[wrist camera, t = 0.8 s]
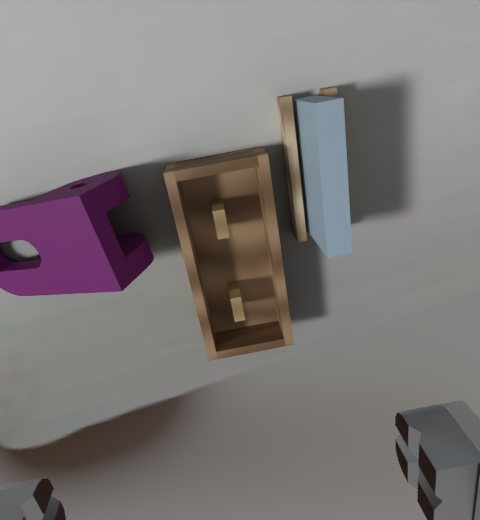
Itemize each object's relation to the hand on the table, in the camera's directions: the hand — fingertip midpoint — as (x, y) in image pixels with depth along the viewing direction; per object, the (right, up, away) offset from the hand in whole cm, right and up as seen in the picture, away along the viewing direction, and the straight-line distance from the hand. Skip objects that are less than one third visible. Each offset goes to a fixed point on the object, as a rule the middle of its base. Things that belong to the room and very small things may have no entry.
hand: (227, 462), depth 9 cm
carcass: (-1, +6, +37) cm, 38 cm away
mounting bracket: (-19, +8, +35) cm, 41 cm away
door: (+8, +15, +34) cm, 38 cm away
